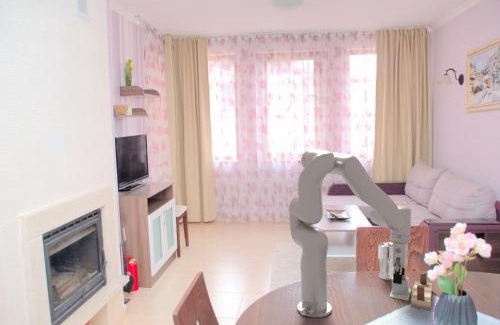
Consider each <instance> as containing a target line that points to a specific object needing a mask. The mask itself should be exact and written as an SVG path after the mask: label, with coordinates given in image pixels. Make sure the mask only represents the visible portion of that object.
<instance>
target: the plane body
mask: <svg viewBox="0 0 500 325" xmlns="http://www.w3.org/2000/svg"><path fill="white" fill-rule="evenodd" d="M427 278H428V276H427V273H426V272H420V273H419V280H415V281H414V284H413V289H412V292H411V299H410V307H411V308H415V309H421V310H429V311H431V304H432V293H433V283H432V282H428V281H427Z"/></svg>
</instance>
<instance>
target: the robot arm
mask: <svg viewBox="0 0 500 325" xmlns="http://www.w3.org/2000/svg"><path fill="white" fill-rule="evenodd" d="M300 162H301V165H302V168H303V169H302V171H301V172H300V174H299V176H298V180H297V195H295V196H294V197H292V199H291V201H290V202H289V206H288V216H289V228H290V229H289V230H290V236H291V239H292V240H293V242H294V243H295V244H296V245H297V246H299V247H300V248H301V249H302V250H301V251H302V253H301V257H300V283H301V284H300V290H301V291H300V293H301V295H300V297H301V301H300V302H299V303H298V304H297V311H298V313H300V315H302V316H305V317H309V318H323V317H324V318H325V317H326V316H328V315H330V314H331V312H332V308H333V307H332V306H331V304H330V303H329V302H328V282H327V281H328V276H327V274H328V273H327V272H328V270H327V260H328V259H327V257H328V250H329V238H328V236H327V234H326V233H325V231H323V230H322V229H320V228H319V227H317V226H315V225H317V224H319V223H320V222H321V221H322V219H323V216H324V209H323V208H324V207H323V195H322V189H323V188H322V184H323V181H324V180H325V178H326V176H327V175H328V174H330V175H338V176H341V177H342V179H343V180H344V181H345V183H346V185H347V186H348V187H349V189H350V190H351V192H352V193H353V194H354V196H355V197H356V198H358V199H359V200H360V201H361V202H363V203H364V204H366V205H368V206H369V207H370V208H371V209H370V212H369V214H368V215H369V219H370V221H371V222H372V223H373V224H375V225H377V226H379V227H382V228H385V229H388V230H389V241H390V242H391V243H392V244H393V255H392V261H393V283H395V284H402V276H406V275H405V273H406V272H405V270H406V268H407V267H408V263H409V261H408V260H409V258H408V255H409V254H408V253H409V251H408V250H409V246H408V244H409V243H411V231H412V230H411V229H412V228H411V227H412V226H411V225H412V224H411V223H412V209H411V208H410V207H408V206H406V205H397V204H396V202H395V201H394V200H393V199H392V198H391V197H390V196H389V195H388V194H387V193H386V192H384V190H383V189H381V187H380V186H378V185H377V184H376V183H375V181H373V179H372V178H371V176H370V175H369V173H368V171H367V170H366V169H365V167H364V166H363V164H362V163H361V161H360V160H359V159H358V157H356V156H355V155H353V154H348V153H340V152H332V151H331V152H330V151H327V150H324V149H323V150H322V149H313V148H310V149H308V150H306V151H304V153H302V156H301V158H300Z"/></svg>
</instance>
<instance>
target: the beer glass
mask: <svg viewBox="0 0 500 325" xmlns="http://www.w3.org/2000/svg"><path fill="white" fill-rule="evenodd" d="M392 255H393V242H386V241H384V242H383V241H382V242H379V243H378V246H377V257H378V264H379V273H378V274H379V275H378V277H379V278H380V279H382V280H384V281H392V277H393V273H394V267H393V261H392Z"/></svg>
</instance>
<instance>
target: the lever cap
mask: <svg viewBox="0 0 500 325" xmlns="http://www.w3.org/2000/svg"><path fill="white" fill-rule="evenodd" d="M409 289H410V276H406V275H404V276H402V284H395V283H393V277H392V280H391V290H392V294H398V295H405V296H408V293H409Z"/></svg>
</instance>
